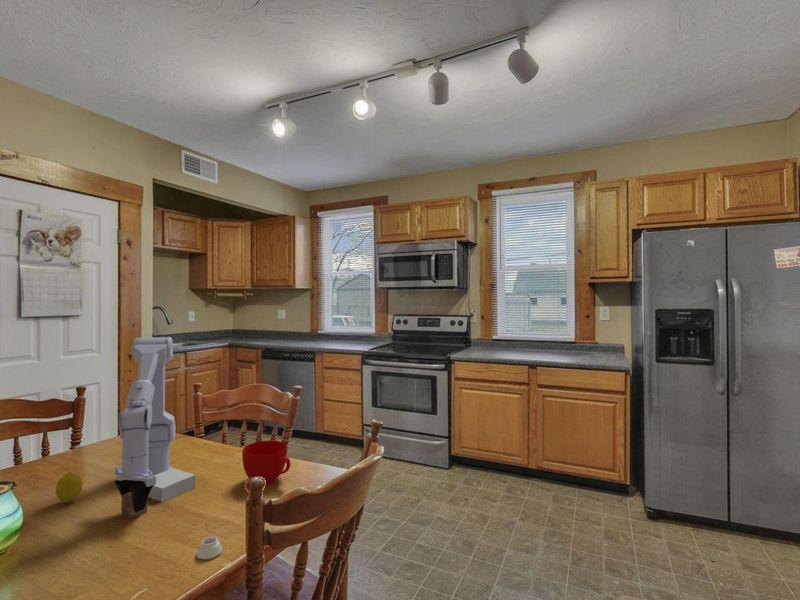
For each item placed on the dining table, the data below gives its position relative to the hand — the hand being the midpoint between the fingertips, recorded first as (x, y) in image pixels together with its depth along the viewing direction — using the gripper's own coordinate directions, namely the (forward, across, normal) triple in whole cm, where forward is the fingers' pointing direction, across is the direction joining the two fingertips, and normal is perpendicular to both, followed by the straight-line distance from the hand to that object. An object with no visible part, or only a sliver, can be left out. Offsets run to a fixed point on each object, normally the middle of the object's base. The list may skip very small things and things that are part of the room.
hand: (134, 508), depth 105 cm
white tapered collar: (+2, +31, -2) cm, 31 cm away
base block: (+2, -5, +12) cm, 13 cm away
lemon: (+2, -21, -5) cm, 22 cm away
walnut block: (+1, 0, 0) cm, 1 cm away
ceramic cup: (+2, +16, +30) cm, 34 cm away
